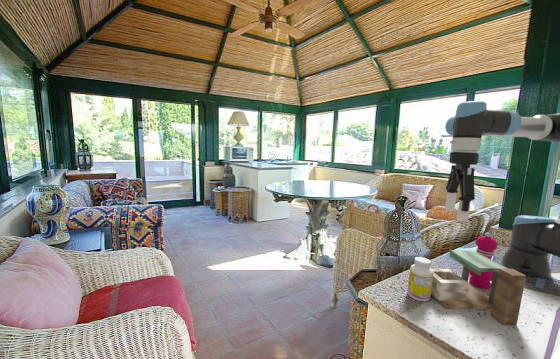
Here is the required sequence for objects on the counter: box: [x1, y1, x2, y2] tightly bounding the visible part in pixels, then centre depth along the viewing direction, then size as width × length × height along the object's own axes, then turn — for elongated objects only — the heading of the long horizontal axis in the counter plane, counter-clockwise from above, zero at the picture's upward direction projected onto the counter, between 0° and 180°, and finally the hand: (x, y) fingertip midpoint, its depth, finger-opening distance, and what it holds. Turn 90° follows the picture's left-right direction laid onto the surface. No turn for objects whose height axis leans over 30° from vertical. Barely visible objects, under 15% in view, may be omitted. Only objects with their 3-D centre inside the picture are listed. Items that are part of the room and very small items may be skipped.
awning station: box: [430, 249, 508, 310], centre depth 84 cm, size 19×14×13 cm
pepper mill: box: [468, 232, 498, 290], centre depth 91 cm, size 7×7×20 cm
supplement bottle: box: [407, 256, 433, 302], centre depth 83 cm, size 7×7×13 cm
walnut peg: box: [490, 268, 527, 326], centre depth 72 cm, size 4×4×15 cm
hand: (455, 215), depth 84 cm, fingers open, 13 cm apart
